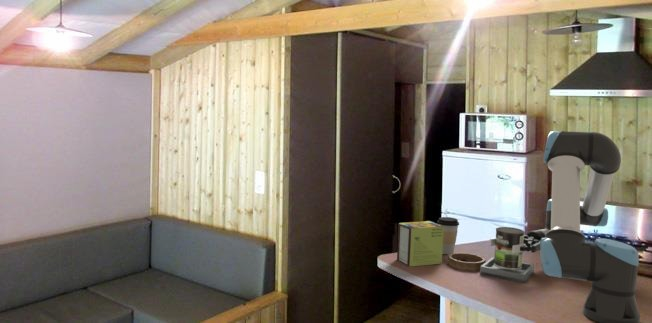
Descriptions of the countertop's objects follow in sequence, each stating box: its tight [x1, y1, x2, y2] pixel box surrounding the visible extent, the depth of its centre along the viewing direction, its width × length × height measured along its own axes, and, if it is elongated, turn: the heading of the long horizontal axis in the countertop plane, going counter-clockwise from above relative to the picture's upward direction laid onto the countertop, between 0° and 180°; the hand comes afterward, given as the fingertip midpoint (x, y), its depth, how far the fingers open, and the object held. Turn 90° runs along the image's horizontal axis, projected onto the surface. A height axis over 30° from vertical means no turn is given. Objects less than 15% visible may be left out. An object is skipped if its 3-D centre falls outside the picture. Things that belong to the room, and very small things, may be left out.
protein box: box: [396, 220, 444, 267], centre depth 206 cm, size 10×15×16 cm
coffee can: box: [494, 226, 525, 270], centre depth 193 cm, size 10×10×14 cm
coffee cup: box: [436, 216, 460, 255], centre depth 220 cm, size 9×9×15 cm
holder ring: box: [447, 252, 487, 272], centre depth 203 cm, size 14×14×3 cm
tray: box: [479, 256, 535, 284], centre depth 194 cm, size 16×16×3 cm
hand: (501, 245), depth 191 cm, fingers closed on coffee can, 10 cm apart
